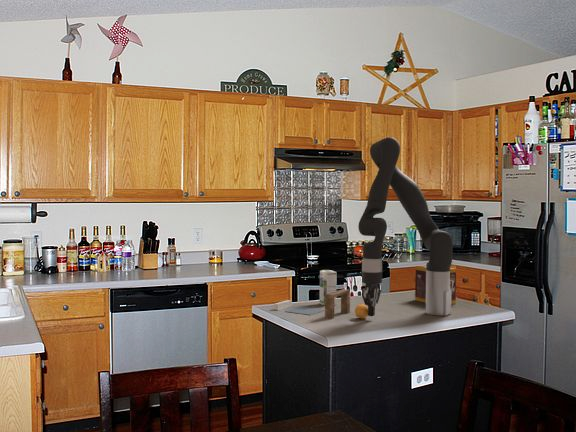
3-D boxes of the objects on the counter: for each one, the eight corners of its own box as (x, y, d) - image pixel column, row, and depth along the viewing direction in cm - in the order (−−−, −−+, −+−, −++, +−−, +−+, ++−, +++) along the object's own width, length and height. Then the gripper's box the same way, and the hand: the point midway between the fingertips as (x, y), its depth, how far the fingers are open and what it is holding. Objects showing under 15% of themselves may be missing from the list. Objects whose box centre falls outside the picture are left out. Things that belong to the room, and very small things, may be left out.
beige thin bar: (291, 306, 260) (291, 300, 259) (278, 310, 251) (278, 304, 251) (287, 305, 261) (287, 300, 261) (274, 309, 252) (274, 303, 252)
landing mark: (325, 310, 251) (325, 309, 251) (310, 315, 241) (310, 314, 241) (301, 307, 258) (301, 306, 258) (284, 311, 248) (284, 311, 248)
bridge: (349, 312, 247) (350, 289, 246) (331, 318, 235) (331, 295, 234) (343, 311, 248) (343, 289, 248) (324, 318, 236) (325, 294, 236)
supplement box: (437, 306, 262) (438, 269, 261) (414, 300, 275) (415, 265, 275) (456, 303, 267) (456, 268, 266) (432, 298, 280) (433, 264, 280)
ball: (368, 301, 237) (356, 305, 240) (362, 303, 232) (350, 307, 235) (373, 314, 236) (361, 319, 239) (367, 317, 231) (355, 321, 234)
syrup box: (318, 303, 266) (319, 270, 266) (331, 302, 268) (331, 269, 268) (324, 305, 261) (324, 271, 260) (336, 305, 263) (337, 271, 262)
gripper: (373, 273, 224) (373, 320, 225) (388, 269, 235) (387, 314, 236) (355, 271, 228) (354, 317, 229) (370, 267, 239) (369, 311, 240)
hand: (371, 315), depth 232 cm, fingers closed
